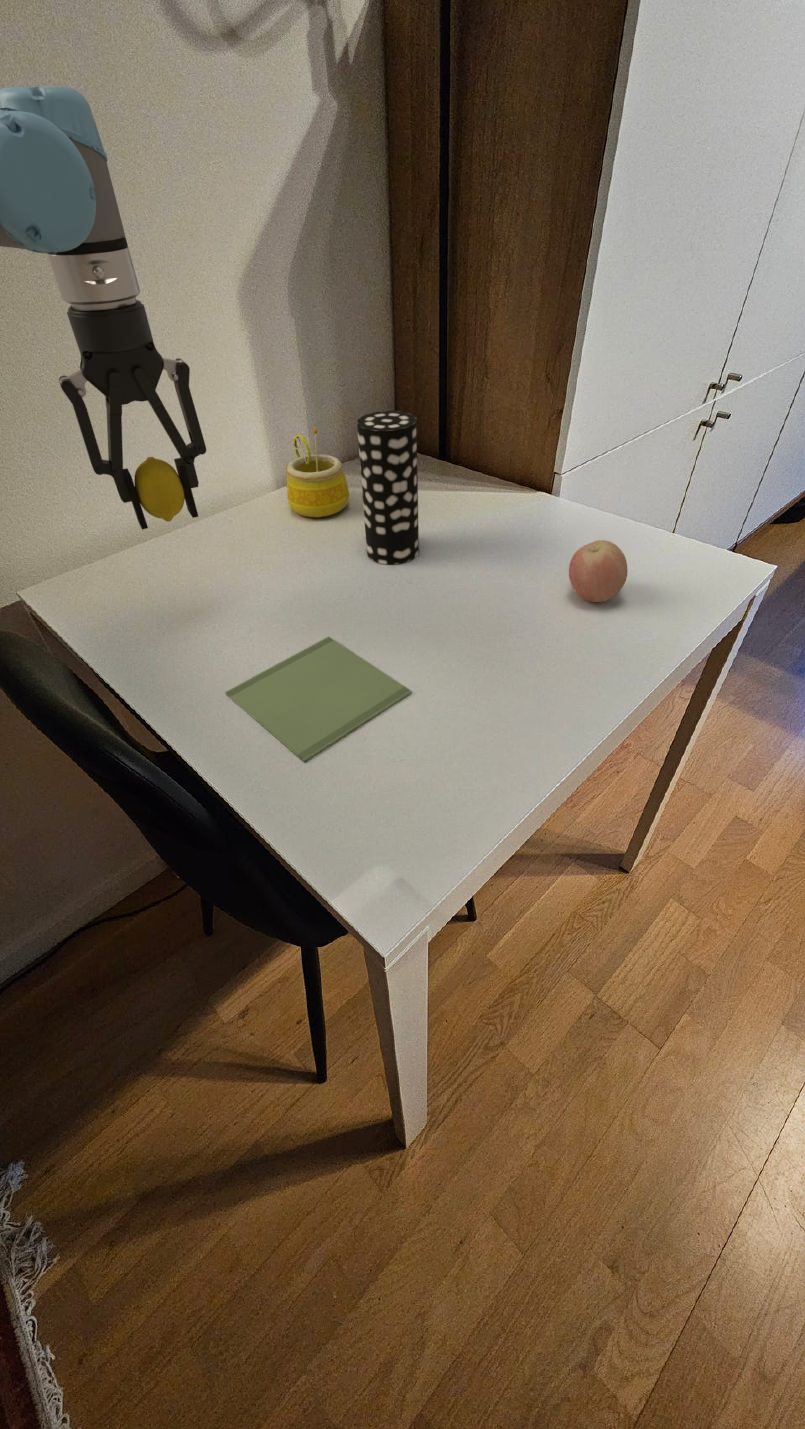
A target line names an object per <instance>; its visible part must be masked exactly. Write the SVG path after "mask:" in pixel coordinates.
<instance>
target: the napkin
mask: <svg viewBox="0 0 805 1429" xmlns="http://www.w3.org/2000/svg"><path fill="white" fill-rule="evenodd" d="M224 694H225V696H227V697H228V698H229V699H230V700H232V701H233V702H234V704H236V705H238V707H240V708H241V709H242V710H243V711H244V712H245V713H247V715H249V717H251V718H252V719H253V720H255V721H256V722H257V723H258V724H259V725H260V726H262V727H263V728H264V729H265V730H266V731H267V732H268V733H269V734H271V735H272V736H273V737H274V738H275V739H277V741H279V742H280V743H281V744H282V745H284V746H285V747H286V748H287V749H288V750H289V751H290V752H292V753H293V754H294V755H295V756H296V757H298V758H299V759H300V760H301V761H302V762H303V763H306V762H308V761H309V760H310V759H312V758H313V757H315V756H317V755H318V754H319V753H322V752H323V751H324V750H326V749H328V748H329V747H331V746H332V745H333V744H335V743H336V742H339V740H341V739H343V738H345V737H346V736H347V735H349V734H351V733H352V732H353V731H355V730H357V729H358V728H360V727H361V726H363V725H364V724H366V723H367V722H369V721H371V720H372V719H374V718H375V717H377V716H378V715H380V714H381V713H383V712H385V711H386V710H388V709H389V708H391V707H392V706H394V705H396V704H397V703H398V702H400V701H401V700H403V699H405V698H406V697H407V696H410V695H411V694H412V690H411V689H409V688H408V687H406V686H405V685H403V684H402V683H400V682H398V681H397V680H395V679H394V678H392V677H391V676H389V675H388V674H386V673H385V672H383V671H382V670H380V669H379V668H378V667H376V666H374V665H373V664H371V663H370V662H368V661H367V660H366V659H364V658H362V657H361V656H359V655H357V654H356V653H354V652H353V651H352V650H350V649H349V648H347V647H346V646H344V645H343V644H341V643H339V642H338V641H336V639H333V638H332V637H330V636H327V637H325V638H323V639H321V640H319V641H318V642H315V643H314V644H311V645H310V646H308V647H306V648H304V649H303V650H300V651H298V652H297V653H295V654H293V655H291V656H290V657H288V658H286V659H284V660H282V661H280V662H278V663H276V664H275V665H273V666H271V667H269V668H267V669H265V670H264V671H261V672H260V673H258V674H256V675H254V676H252V677H251V678H249V679H247V680H245V681H243V682H240V683H239V684H237V685H236V686H234V687H232V688H230V689H228V690H226V691H225V692H224Z"/></svg>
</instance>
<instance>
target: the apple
mask: <svg viewBox="0 0 805 1429" xmlns="http://www.w3.org/2000/svg"><path fill="white" fill-rule="evenodd" d="M628 573H629V572H628V562H627V558H626V556H625V554H624V552H623V551H622V550H621V548H620V547H619V546H618V545H617V544H615V543H614V542H612V541H610V540H609V541H608V540H606V539H605V540H604V539H601V540H600V539H599V540H595V541H591V542H589V543H587V544H585V545H583V546H581V547H579V548H578V549H577V550H576V551H575V552H574V553H573V554H572V556H571V559H570V561H569V566H568V579H569V582H570V585H571V587H572V589H573V590H574V591H575V593H576V594H577V595H578V596H579V597H580V599H581V598H582V599H583V600H585V601H587V602H589V603H591V602H592V603H602V602H606V601H608V600H610V599H611V598H613V597H615V596H616V595H617V594H618V593H619V592H620V591H621V590H622V589H623V587H624V585H625V584H626V581H627V577H628Z"/></svg>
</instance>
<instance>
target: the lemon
mask: <svg viewBox="0 0 805 1429" xmlns="http://www.w3.org/2000/svg"><path fill="white" fill-rule="evenodd" d="M133 483H134V486H135V489H136V492H137V495H138V498H139V501H140V504H141V507H142V509H143V510H144V511H145V512H146V513H148V515H150V516H152V517H154V518H157V519H162V520H164V521H165V522H167V523H168V522H169V523H170V522H171V521H173V519H174V517H176V516H177V515H179V514H180V513H181V511H182V510H183V508H184V504H185V494H184V488H183V485H182V482H181V480H180V478H179V476H178V472H177V470H176V468H174V466H172V465H171V464H170V463H168V462H167V461H165V460H163V459H160V458H155V457H153V456H148V457H147V458H146V460H144V461H142V462H141V463H140V464H139V465H138V466H137V468H136V470H135V472H134V480H133Z"/></svg>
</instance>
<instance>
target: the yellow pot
mask: <svg viewBox="0 0 805 1429" xmlns="http://www.w3.org/2000/svg"><path fill="white" fill-rule="evenodd" d="M312 433H313V434H314V451H315V453H314V454H312V453H311V448H310V446H309V443H308V441H307V440H306V438H305V437H304V436H303V435H302V434H296V435H295V436H294V438H293V449H294V452H295V455H296V457H297V458H295V459H293V460H291V461H290V462H289V463H288V465H287V466H286V468H285V471H286V474H287V477H286V491H287V502H288V505H289V507H290V508H291V510H292V511H293V512H294V513H296V514H298V515H300V516H304V517H308V518H321V517H322V518H323V517H329V516H332V515H335V514H337V513H339V512H340V511H342V510H343V509H344V508H345V507H346V506H347V504H348V501H349V497H350V491H349V485H348V481H347V478H346V474H345V473H344V471H343V468H344V467H343V462H342V461H341V460H340V459H339V458H337V457H335V456H333V455H329V454H322V453H321V454H318V444H317V434H318V429H317V428H316V427H314V428H313V430H312ZM303 445H304V446H303ZM305 448H306V449H305ZM299 451H300V453H299Z"/></svg>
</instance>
